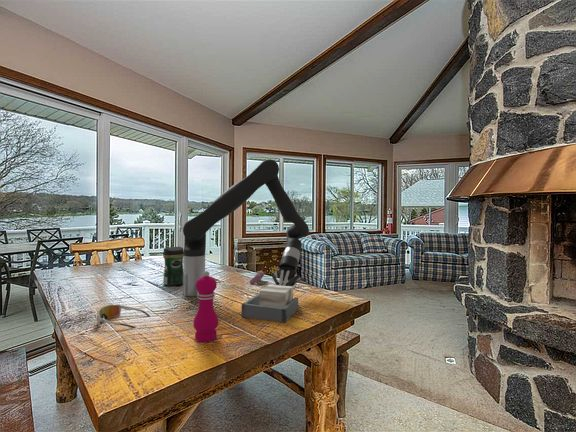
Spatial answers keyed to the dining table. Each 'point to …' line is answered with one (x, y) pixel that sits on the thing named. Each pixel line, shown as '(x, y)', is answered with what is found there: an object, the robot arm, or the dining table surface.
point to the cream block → (276, 295)
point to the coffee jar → (173, 266)
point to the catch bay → (268, 310)
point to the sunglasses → (113, 314)
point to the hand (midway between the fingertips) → (280, 295)
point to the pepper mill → (206, 309)
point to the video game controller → (257, 277)
